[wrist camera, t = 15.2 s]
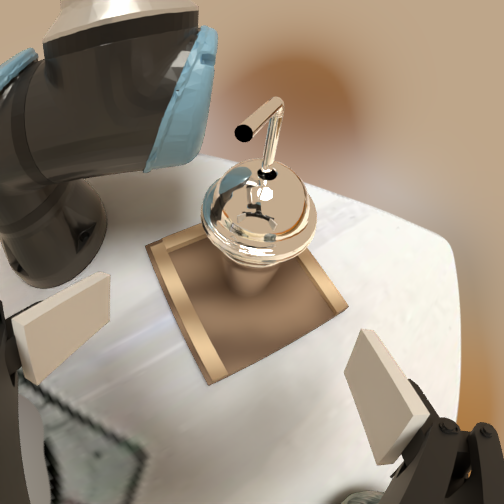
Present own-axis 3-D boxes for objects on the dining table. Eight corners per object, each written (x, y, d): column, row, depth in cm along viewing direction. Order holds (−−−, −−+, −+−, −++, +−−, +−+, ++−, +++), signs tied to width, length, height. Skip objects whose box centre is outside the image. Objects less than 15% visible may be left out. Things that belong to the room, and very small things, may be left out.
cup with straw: (305, 280, 29) (392, 107, 12) (240, 337, 25) (283, 156, 8) (250, 228, 32) (279, 51, 15) (184, 273, 28) (154, 77, 11)
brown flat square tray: (147, 251, 30) (143, 241, 29) (268, 205, 36) (271, 194, 34) (208, 385, 24) (207, 383, 22) (344, 310, 29) (351, 303, 27)
